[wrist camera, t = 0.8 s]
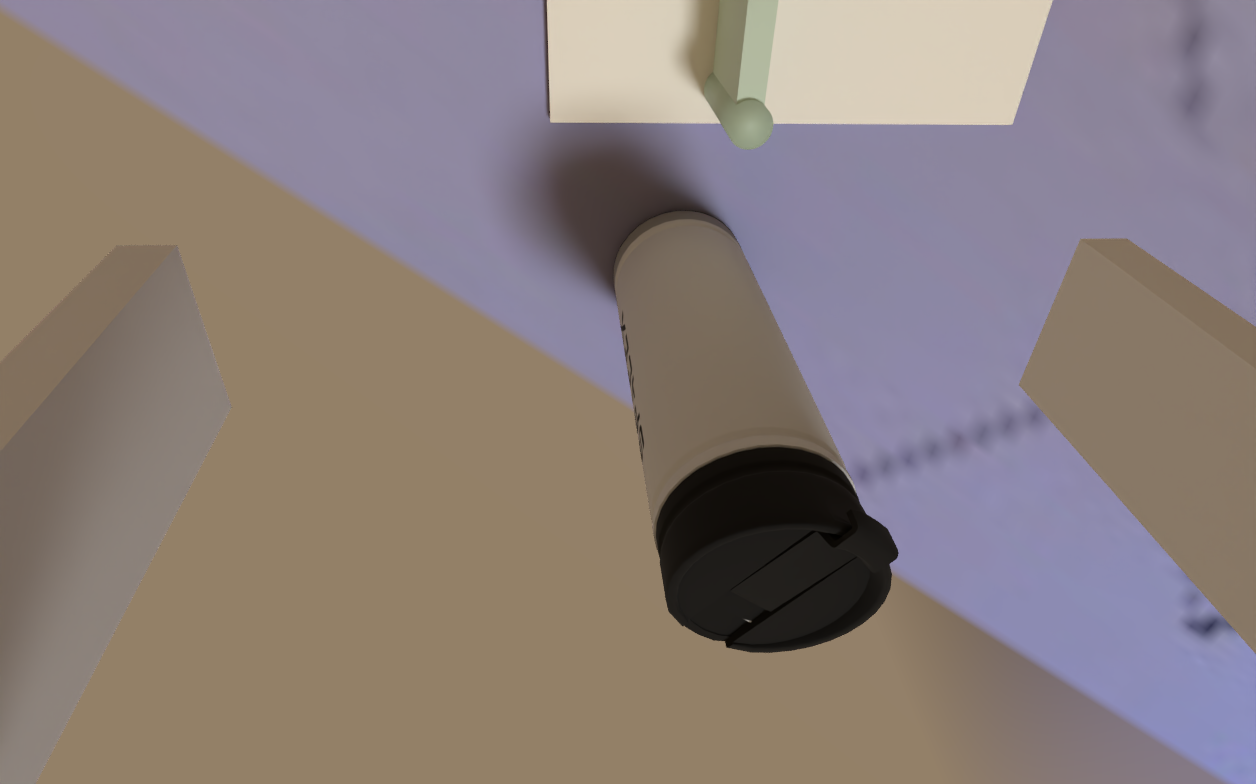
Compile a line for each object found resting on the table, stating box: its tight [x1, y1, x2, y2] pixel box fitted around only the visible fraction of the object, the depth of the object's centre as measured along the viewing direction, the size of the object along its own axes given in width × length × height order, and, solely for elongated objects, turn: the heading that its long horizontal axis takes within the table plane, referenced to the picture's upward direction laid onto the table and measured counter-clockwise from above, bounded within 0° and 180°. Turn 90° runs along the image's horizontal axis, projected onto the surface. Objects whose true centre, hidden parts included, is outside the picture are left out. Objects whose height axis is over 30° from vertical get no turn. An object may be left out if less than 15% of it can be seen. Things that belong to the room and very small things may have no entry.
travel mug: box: [613, 211, 898, 653], centre depth 28 cm, size 6×7×20 cm
